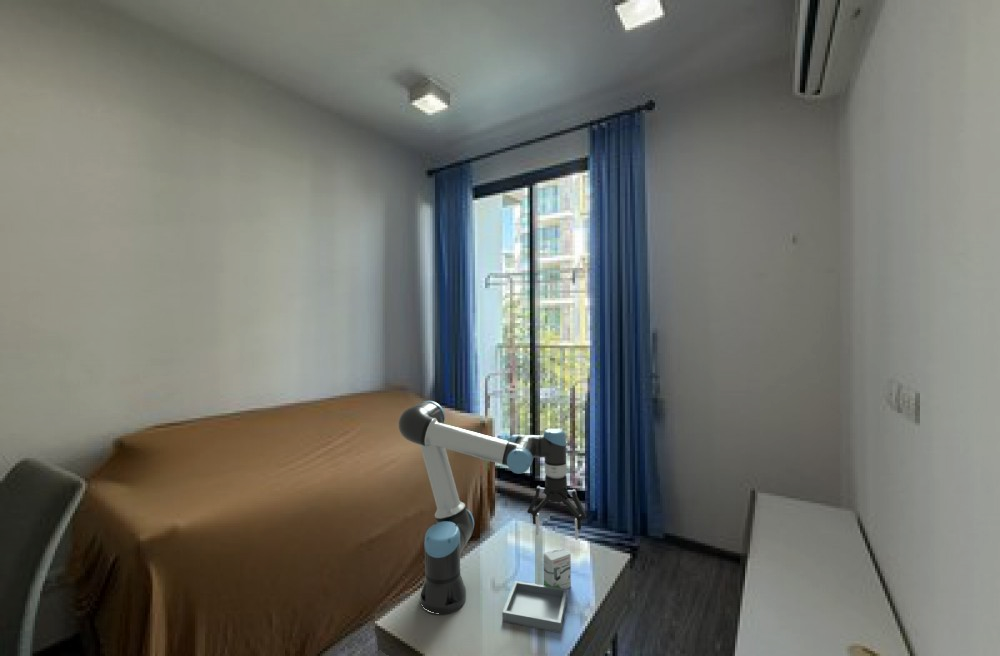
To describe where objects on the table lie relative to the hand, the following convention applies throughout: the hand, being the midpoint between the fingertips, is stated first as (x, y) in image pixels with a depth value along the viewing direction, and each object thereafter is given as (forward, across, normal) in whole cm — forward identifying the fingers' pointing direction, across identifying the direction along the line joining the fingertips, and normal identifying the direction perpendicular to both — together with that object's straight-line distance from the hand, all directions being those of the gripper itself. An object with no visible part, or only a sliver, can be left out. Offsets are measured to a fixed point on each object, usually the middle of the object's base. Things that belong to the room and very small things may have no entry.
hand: (557, 535), depth 142 cm
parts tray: (+18, -5, -13) cm, 23 cm away
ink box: (+18, 0, 0) cm, 18 cm away
